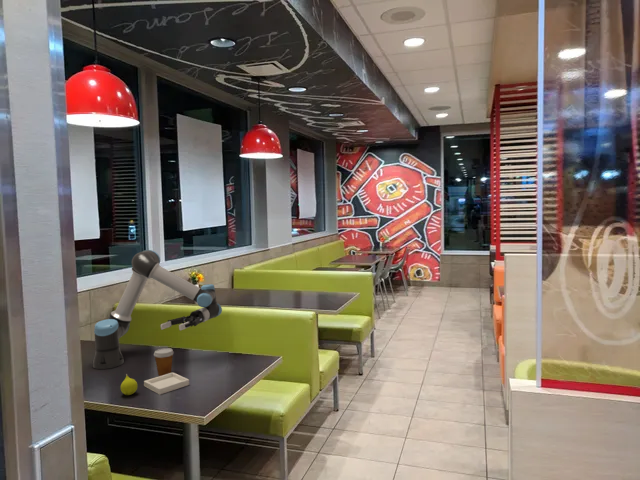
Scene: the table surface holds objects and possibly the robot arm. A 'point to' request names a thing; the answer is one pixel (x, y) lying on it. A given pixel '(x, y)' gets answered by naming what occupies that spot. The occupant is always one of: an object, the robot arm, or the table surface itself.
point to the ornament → (128, 386)
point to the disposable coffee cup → (164, 360)
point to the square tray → (166, 383)
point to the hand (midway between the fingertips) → (170, 327)
